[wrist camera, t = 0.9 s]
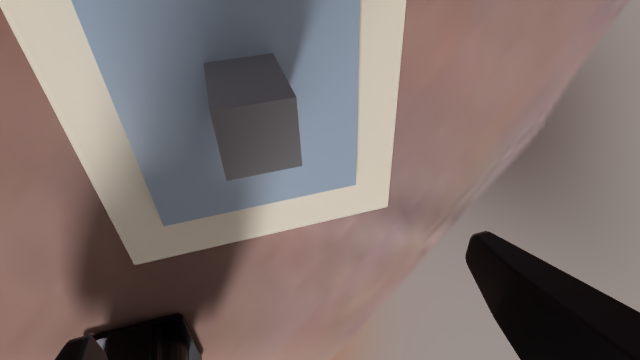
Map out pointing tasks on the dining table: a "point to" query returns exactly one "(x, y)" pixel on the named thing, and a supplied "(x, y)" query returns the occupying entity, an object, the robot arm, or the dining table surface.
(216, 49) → the lid
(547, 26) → the dining table surface
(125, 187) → the mat
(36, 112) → the dining table surface
